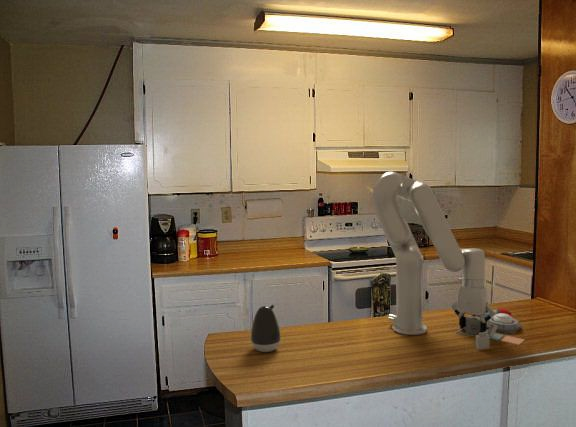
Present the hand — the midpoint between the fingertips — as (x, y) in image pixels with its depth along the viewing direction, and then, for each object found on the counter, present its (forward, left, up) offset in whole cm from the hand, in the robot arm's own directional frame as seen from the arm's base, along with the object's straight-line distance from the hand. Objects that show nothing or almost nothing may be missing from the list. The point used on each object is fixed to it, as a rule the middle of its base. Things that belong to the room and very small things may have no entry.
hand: (472, 329), depth 179 cm
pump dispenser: (-47, -60, -1) cm, 76 cm away
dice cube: (0, 0, -1) cm, 1 cm away
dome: (+7, +11, +1) cm, 13 cm away
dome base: (+7, +11, -1) cm, 13 cm away
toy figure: (0, +18, -1) cm, 18 cm away
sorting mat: (+6, 0, -1) cm, 6 cm away
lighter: (+10, -12, -1) cm, 15 cm away
